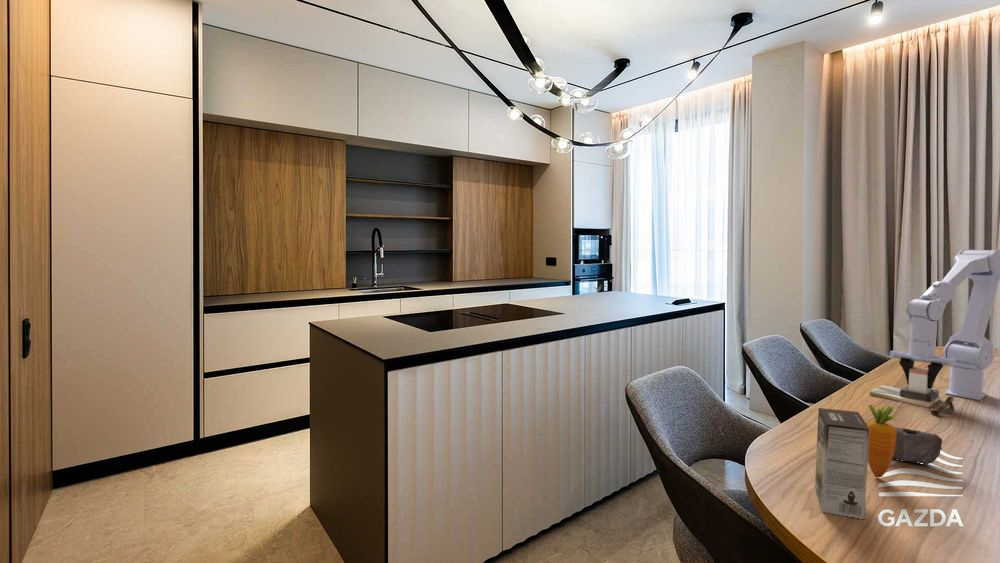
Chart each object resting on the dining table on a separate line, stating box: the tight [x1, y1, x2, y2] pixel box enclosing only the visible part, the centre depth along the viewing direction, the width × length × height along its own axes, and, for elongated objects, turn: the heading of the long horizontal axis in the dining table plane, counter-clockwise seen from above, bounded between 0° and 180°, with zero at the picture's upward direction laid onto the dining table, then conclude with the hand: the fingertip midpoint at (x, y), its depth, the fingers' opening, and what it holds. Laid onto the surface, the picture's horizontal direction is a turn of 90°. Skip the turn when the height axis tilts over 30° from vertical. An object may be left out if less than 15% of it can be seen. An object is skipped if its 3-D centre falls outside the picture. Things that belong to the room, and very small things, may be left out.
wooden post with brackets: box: [929, 396, 955, 417], centre depth 133 cm, size 2×8×4 cm, turn 110°
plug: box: [907, 366, 932, 394], centre depth 144 cm, size 5×4×8 cm
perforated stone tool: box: [892, 426, 943, 466], centre depth 106 cm, size 15×5×7 cm, turn 45°
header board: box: [869, 385, 941, 408], centre depth 147 cm, size 11×14×3 cm
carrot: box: [865, 404, 897, 478], centre depth 97 cm, size 5×5×15 cm
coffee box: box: [814, 407, 870, 520], centre depth 87 cm, size 9×6×16 cm
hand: (919, 386), depth 144 cm, fingers closed on plug, 4 cm apart
